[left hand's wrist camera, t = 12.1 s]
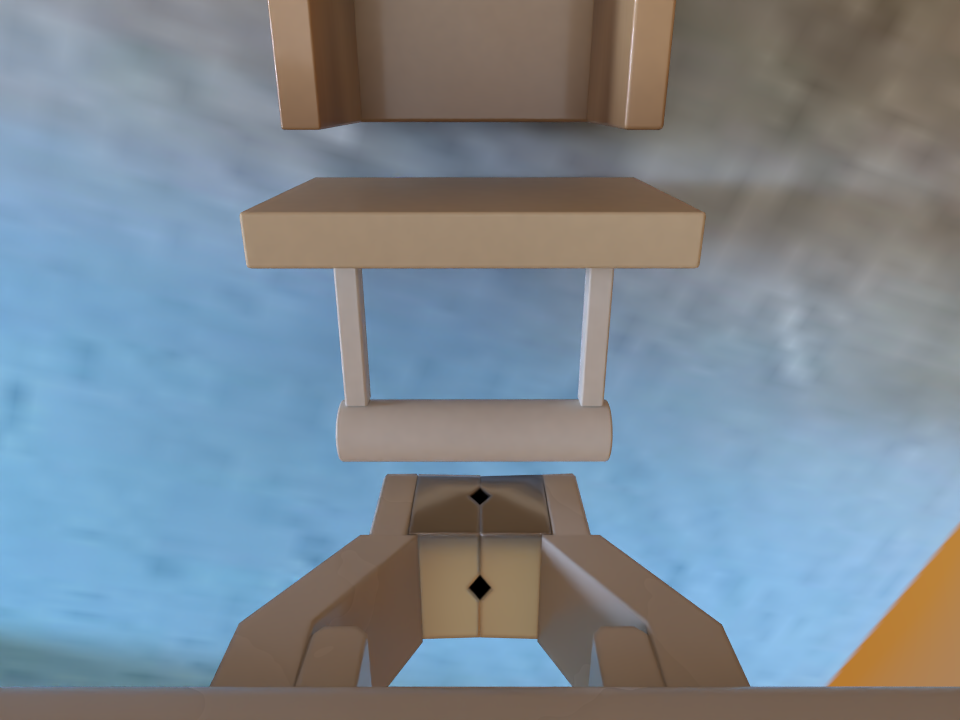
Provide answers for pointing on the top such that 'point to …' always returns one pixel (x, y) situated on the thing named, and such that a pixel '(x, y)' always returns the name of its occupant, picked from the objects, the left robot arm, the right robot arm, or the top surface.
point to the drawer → (472, 191)
